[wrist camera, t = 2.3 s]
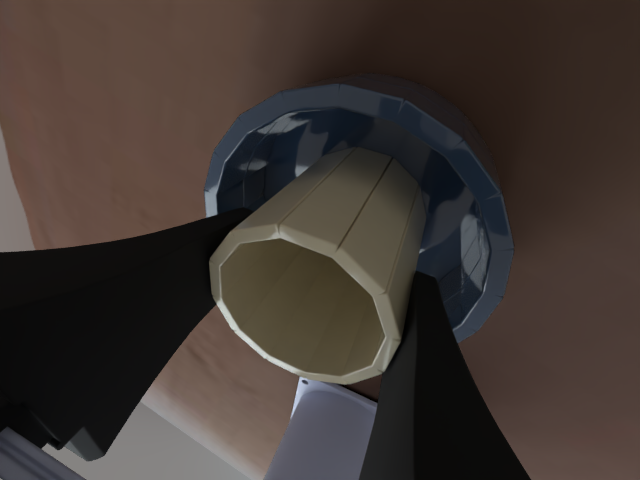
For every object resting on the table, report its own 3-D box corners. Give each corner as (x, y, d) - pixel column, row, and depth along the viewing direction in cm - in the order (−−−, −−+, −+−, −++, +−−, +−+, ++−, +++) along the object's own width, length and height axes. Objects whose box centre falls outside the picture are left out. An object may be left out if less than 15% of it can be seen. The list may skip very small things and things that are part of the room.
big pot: (434, 328, 16) (427, 398, 13) (255, 256, 18) (212, 300, 15) (565, 115, 9) (617, 151, 6) (263, 45, 12) (191, 46, 9)
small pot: (399, 279, 14) (365, 408, 9) (295, 240, 16) (214, 335, 11) (446, 171, 11) (433, 281, 6) (310, 132, 12) (202, 196, 7)
